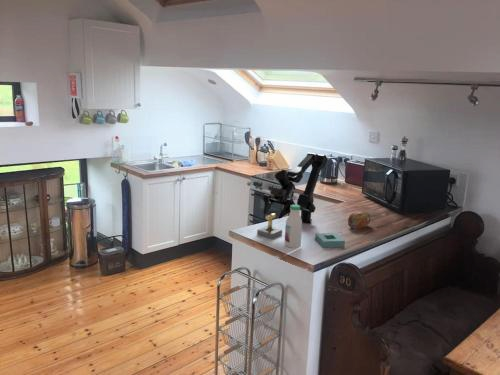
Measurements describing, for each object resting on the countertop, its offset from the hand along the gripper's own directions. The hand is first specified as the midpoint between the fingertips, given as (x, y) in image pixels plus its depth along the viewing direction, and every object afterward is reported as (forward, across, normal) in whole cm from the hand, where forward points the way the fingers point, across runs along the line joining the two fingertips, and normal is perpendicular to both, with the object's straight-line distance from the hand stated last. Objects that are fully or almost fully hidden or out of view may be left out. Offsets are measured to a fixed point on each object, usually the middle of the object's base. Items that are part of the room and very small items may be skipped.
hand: (271, 216), depth 217 cm
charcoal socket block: (+8, 0, +7) cm, 10 cm away
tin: (-25, +27, +39) cm, 54 cm away
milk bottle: (+10, +16, +4) cm, 19 cm away
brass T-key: (+7, 0, +6) cm, 10 cm away
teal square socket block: (-2, +27, +16) cm, 31 cm away
